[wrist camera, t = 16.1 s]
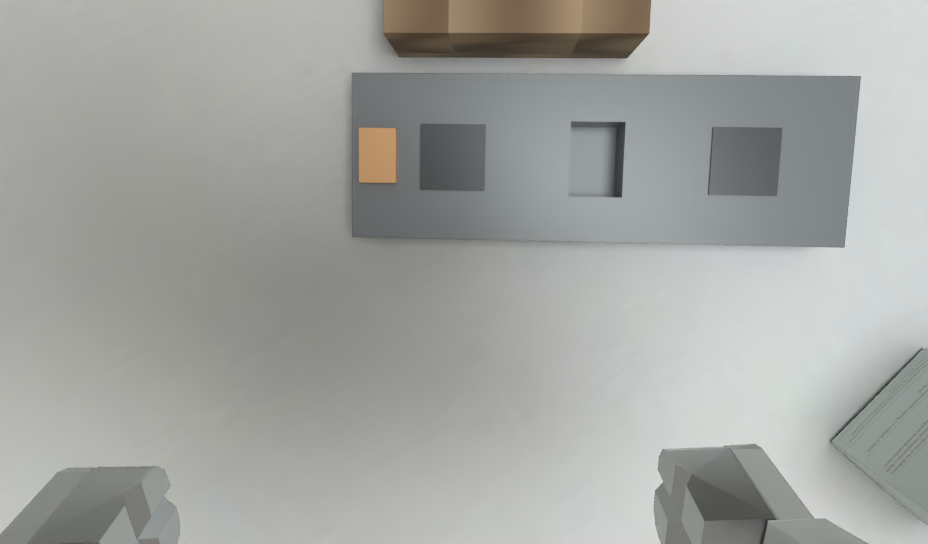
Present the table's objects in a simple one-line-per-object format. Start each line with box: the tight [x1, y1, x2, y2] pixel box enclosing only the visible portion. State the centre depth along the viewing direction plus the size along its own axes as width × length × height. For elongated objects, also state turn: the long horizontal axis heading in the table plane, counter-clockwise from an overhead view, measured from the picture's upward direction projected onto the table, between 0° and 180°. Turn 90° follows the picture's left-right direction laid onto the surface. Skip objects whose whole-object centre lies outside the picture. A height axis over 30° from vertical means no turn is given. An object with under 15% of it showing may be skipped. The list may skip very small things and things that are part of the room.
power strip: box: [352, 73, 861, 248], centre depth 30 cm, size 24×8×4 cm, turn 89°
